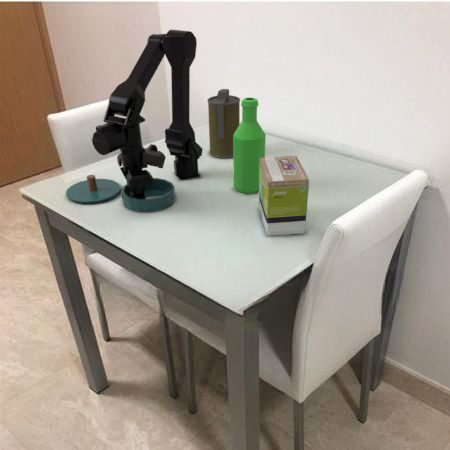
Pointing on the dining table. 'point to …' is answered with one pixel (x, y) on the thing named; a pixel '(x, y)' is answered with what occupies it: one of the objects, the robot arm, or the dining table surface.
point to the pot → (151, 204)
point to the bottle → (248, 148)
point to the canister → (223, 123)
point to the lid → (93, 190)
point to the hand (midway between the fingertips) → (138, 198)
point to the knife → (144, 196)
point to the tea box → (283, 195)
